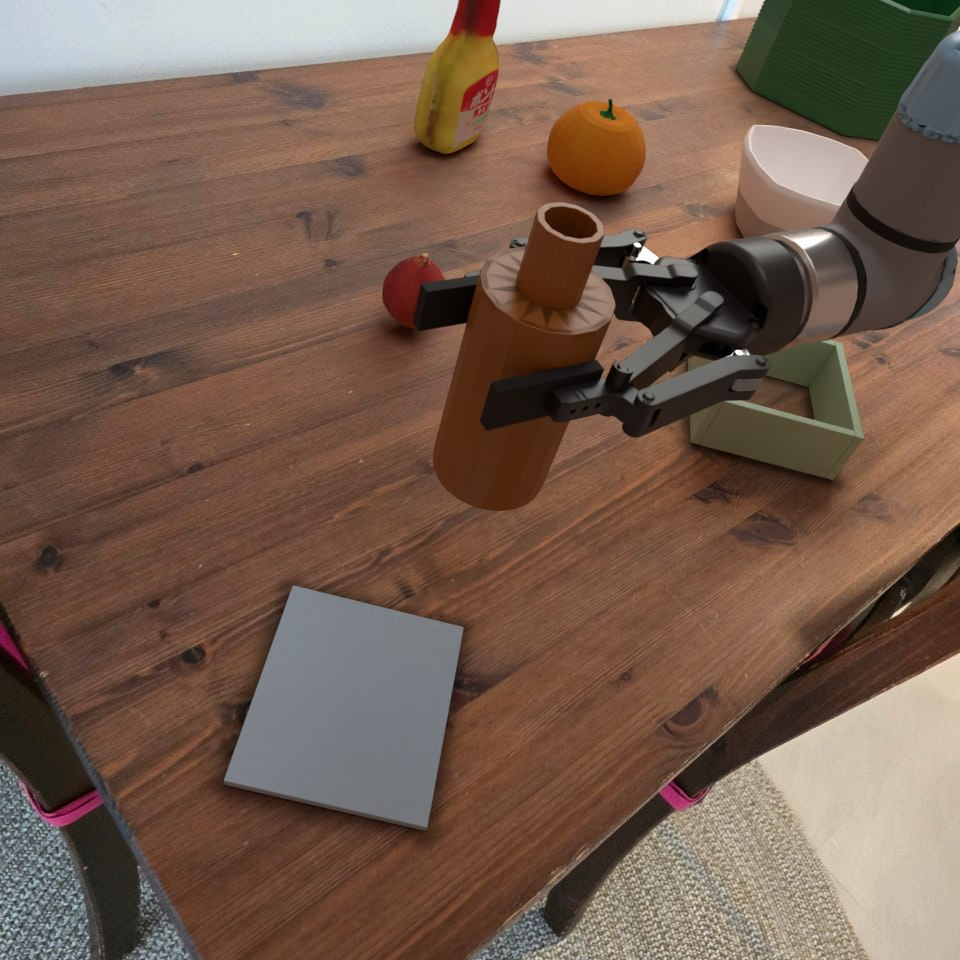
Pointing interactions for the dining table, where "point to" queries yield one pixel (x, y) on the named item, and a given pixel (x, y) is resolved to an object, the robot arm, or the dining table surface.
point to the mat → (350, 709)
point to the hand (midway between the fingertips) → (453, 355)
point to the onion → (408, 286)
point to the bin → (790, 415)
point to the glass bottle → (522, 355)
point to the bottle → (460, 80)
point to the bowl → (792, 180)
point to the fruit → (597, 148)
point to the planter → (843, 57)
